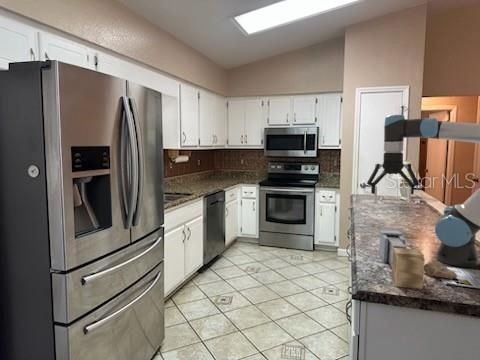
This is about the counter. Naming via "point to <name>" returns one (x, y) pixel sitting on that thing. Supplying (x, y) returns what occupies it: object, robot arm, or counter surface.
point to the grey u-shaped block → (384, 242)
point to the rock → (438, 270)
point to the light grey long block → (393, 246)
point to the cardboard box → (408, 268)
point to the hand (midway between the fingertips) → (391, 201)
